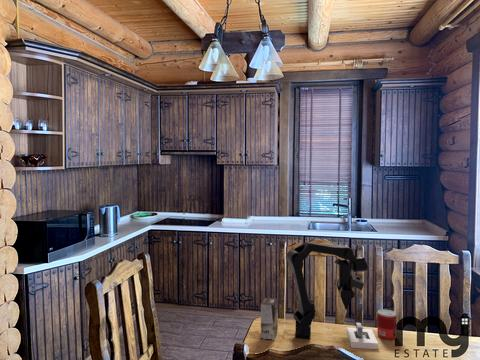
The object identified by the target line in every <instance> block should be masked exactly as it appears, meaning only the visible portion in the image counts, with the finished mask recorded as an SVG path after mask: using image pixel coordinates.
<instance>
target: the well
mask: <svg viewBox="0 0 480 360" xmlns="http://www.w3.org/2000/svg"><path fill="white" fill-rule="evenodd" d="M372 329H373V328H363V335H365V336H366V338H367V339H360V338H356V327H346V334H347V338H348V341H349V344H350V347H351V348H353V349H354V348H355V349H356V348H357V349H368V350H370V349H371V350H379V342H378V340H377V338H376V336H375V334H374V331H373V330H372Z"/></svg>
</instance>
